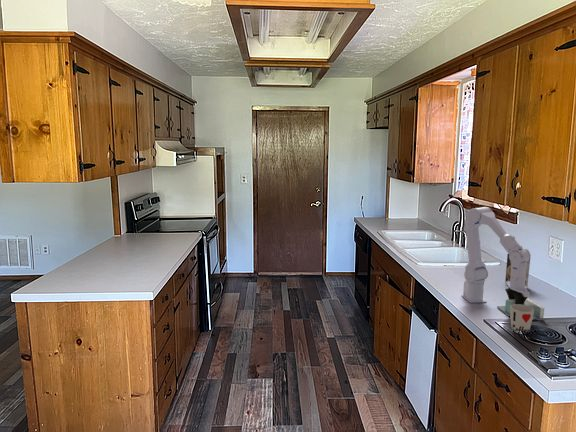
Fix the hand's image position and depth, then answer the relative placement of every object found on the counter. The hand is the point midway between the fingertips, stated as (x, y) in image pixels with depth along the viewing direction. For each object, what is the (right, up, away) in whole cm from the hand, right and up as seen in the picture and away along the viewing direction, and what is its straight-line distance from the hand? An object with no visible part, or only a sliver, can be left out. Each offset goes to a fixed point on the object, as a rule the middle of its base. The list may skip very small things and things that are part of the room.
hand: (515, 307), depth 184 cm
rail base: (+2, -3, +1) cm, 4 cm away
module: (0, -2, 0) cm, 2 cm away
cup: (-7, -6, -16) cm, 19 cm away
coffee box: (+20, +3, +37) cm, 42 cm away
